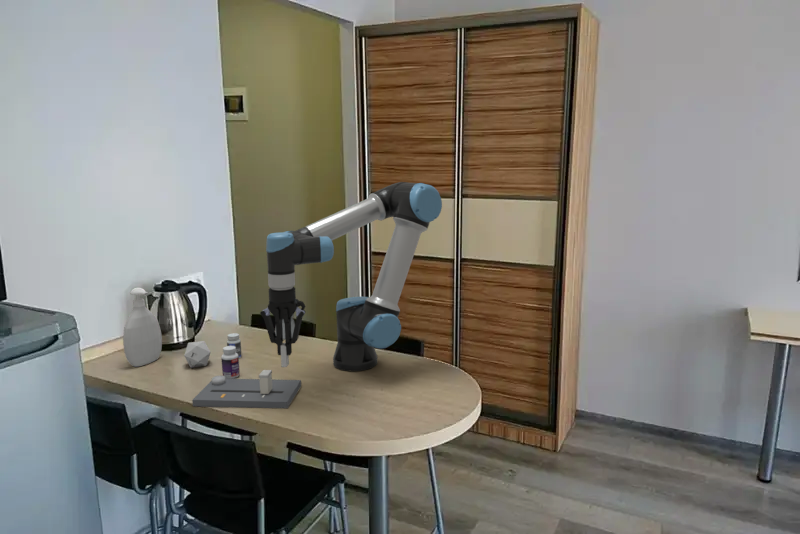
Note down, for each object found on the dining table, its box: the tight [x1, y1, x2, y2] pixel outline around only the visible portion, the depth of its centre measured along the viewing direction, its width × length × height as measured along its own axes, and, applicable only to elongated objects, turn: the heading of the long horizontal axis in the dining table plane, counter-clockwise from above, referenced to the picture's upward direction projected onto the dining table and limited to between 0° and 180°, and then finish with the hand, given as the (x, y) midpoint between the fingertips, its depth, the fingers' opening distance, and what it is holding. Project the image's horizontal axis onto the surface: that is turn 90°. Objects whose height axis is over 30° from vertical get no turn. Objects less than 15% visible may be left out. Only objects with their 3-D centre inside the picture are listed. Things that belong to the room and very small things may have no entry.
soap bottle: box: [122, 287, 163, 368], centre depth 204 cm, size 14×8×27 cm, turn 151°
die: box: [183, 340, 211, 369], centre depth 204 cm, size 8×9×10 cm
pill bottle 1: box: [226, 332, 242, 359], centre depth 211 cm, size 5×5×8 cm
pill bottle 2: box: [220, 345, 240, 379], centre depth 193 cm, size 5×5×10 cm
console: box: [191, 375, 302, 409], centre depth 179 cm, size 28×16×4 cm, turn 85°
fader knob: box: [258, 369, 273, 394], centre depth 176 cm, size 3×4×6 cm, turn 175°
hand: (285, 365), depth 174 cm, fingers closed
